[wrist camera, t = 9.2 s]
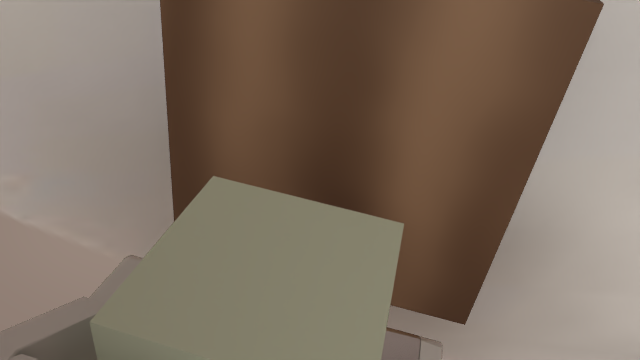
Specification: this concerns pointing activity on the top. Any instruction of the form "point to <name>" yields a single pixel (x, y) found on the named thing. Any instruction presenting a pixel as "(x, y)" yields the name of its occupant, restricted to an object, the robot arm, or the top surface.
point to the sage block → (256, 283)
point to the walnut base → (376, 115)
